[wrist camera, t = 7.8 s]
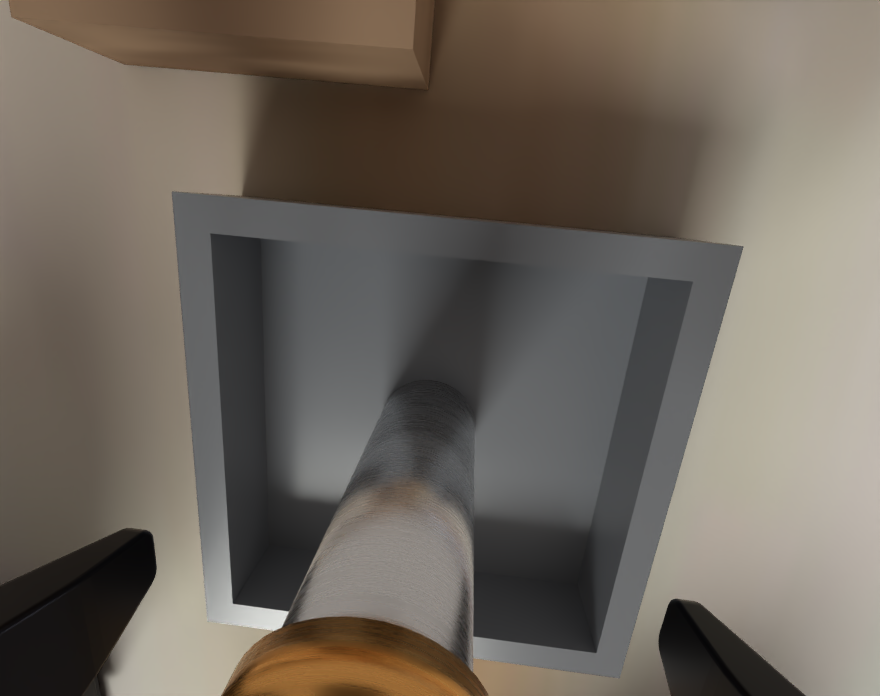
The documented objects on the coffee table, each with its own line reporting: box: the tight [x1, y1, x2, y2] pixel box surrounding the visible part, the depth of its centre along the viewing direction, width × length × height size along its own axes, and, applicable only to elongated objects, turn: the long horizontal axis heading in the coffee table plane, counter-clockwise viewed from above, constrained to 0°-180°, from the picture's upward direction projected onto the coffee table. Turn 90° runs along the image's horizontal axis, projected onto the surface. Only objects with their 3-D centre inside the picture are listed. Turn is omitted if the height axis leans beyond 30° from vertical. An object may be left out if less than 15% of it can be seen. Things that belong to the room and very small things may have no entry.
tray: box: [172, 191, 743, 678], centre depth 13 cm, size 12×12×3 cm
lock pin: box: [221, 380, 488, 696], centre depth 9 cm, size 3×3×9 cm
